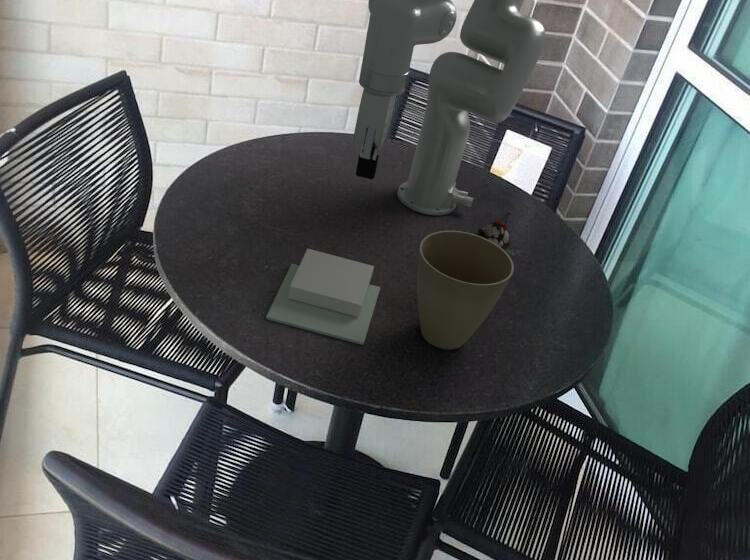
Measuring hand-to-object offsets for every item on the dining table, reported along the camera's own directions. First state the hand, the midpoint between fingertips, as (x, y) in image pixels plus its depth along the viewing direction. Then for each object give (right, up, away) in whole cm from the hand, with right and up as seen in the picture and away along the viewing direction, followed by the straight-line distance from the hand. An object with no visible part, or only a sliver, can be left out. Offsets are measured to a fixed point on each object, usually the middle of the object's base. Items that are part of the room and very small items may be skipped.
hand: (365, 175), depth 140 cm
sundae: (+21, -19, +9) cm, 29 cm away
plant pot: (+13, -27, -6) cm, 31 cm away
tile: (-5, -15, +2) cm, 16 cm away
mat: (-7, -22, -5) cm, 24 cm away
